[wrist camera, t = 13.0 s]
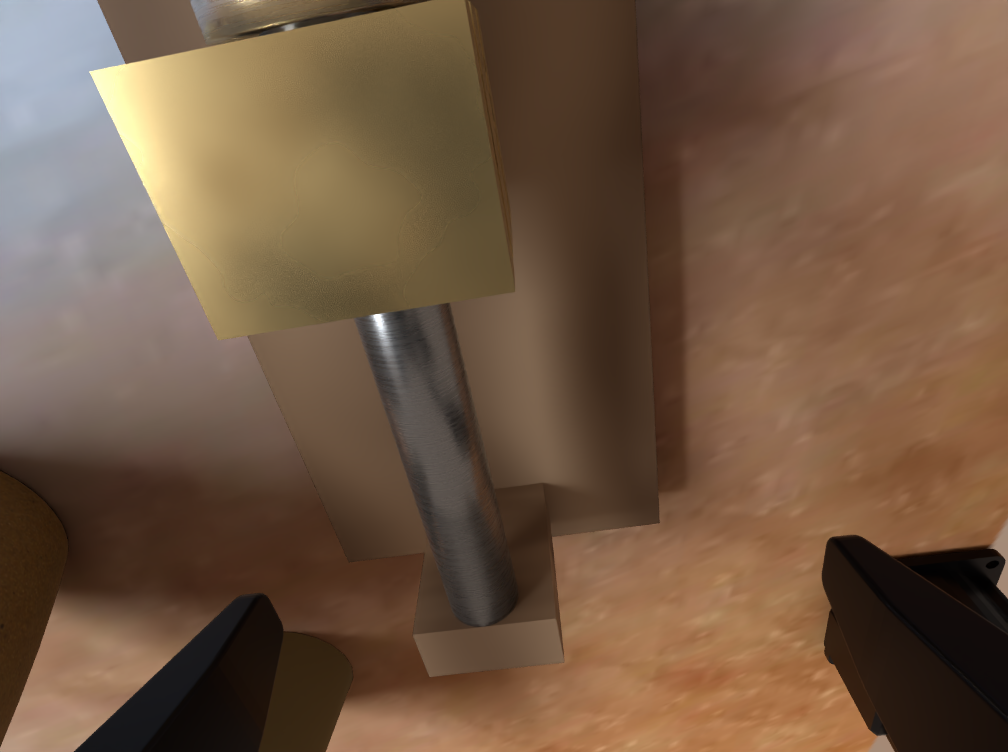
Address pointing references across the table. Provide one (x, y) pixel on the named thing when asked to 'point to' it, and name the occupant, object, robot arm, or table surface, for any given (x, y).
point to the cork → (306, 695)
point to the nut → (325, 167)
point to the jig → (501, 329)
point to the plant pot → (25, 585)
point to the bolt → (413, 377)
